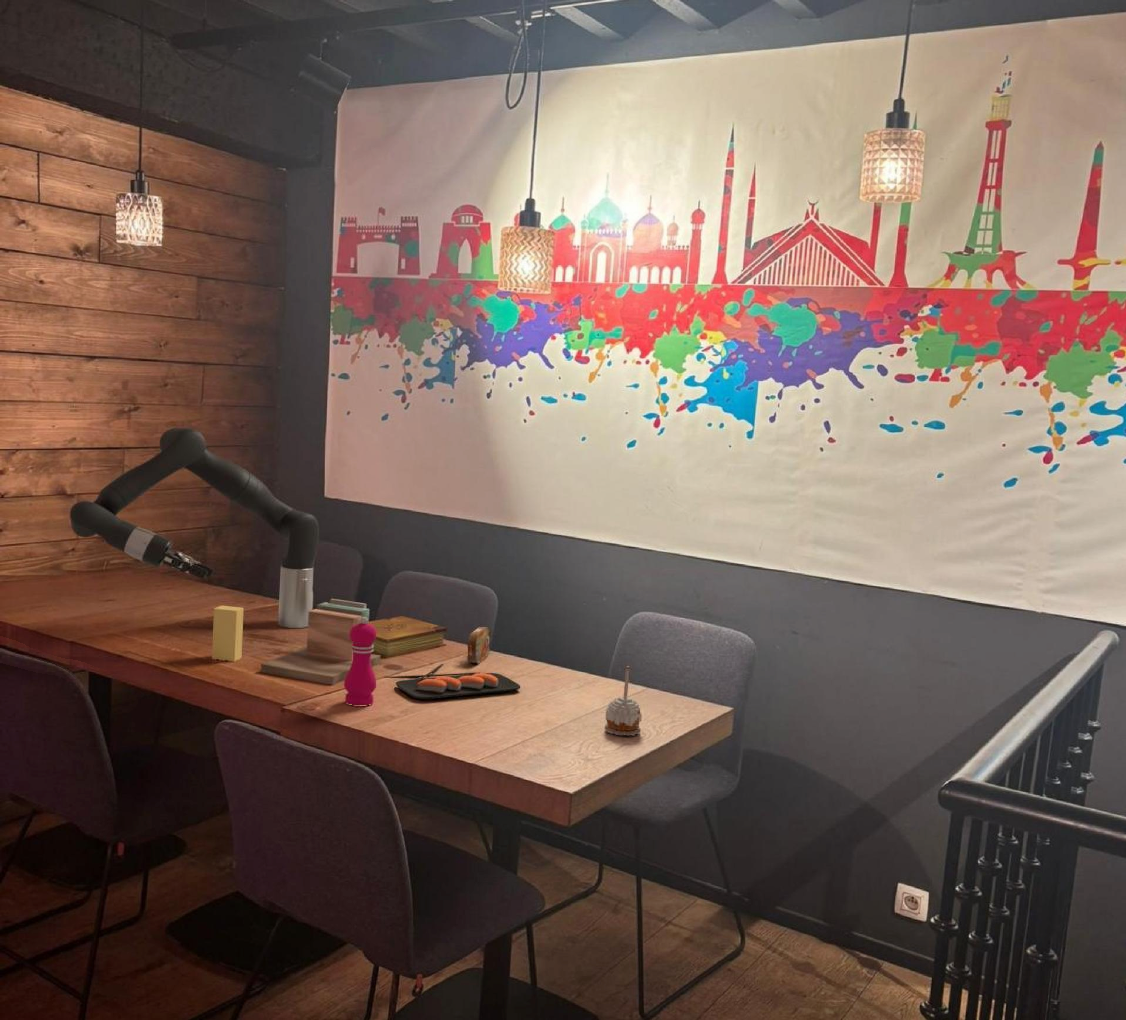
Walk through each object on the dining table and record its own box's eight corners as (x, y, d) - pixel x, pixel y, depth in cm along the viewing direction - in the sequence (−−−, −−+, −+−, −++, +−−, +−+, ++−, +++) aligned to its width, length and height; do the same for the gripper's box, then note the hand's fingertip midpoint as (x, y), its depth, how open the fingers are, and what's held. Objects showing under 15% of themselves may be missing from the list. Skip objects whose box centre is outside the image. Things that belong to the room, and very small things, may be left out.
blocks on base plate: (312, 651, 288) (315, 596, 286) (380, 662, 282) (383, 606, 280) (260, 672, 265) (263, 612, 263) (332, 684, 259) (336, 623, 257)
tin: (475, 667, 285) (477, 635, 284) (464, 665, 286) (466, 634, 285) (490, 654, 300) (493, 624, 299) (479, 652, 300) (482, 623, 299)
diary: (398, 634, 316) (400, 615, 316) (445, 647, 305) (447, 627, 305) (338, 645, 298) (339, 625, 297) (386, 659, 287) (387, 638, 286)
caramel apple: (646, 735, 240) (652, 669, 238) (619, 739, 235) (625, 672, 233) (625, 724, 246) (630, 660, 244) (597, 729, 241) (603, 663, 240)
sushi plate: (415, 706, 250) (416, 689, 249) (366, 671, 275) (367, 657, 274) (524, 695, 265) (525, 679, 265) (468, 663, 290) (469, 649, 290)
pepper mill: (347, 696, 251) (351, 612, 248) (378, 699, 250) (383, 614, 248) (339, 705, 243) (344, 618, 241) (371, 708, 243) (376, 621, 241)
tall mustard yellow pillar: (219, 655, 277) (221, 605, 276) (241, 657, 277) (243, 607, 275) (212, 658, 273) (214, 608, 272) (234, 661, 273) (236, 610, 271)
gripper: (148, 533, 264) (210, 561, 266) (161, 533, 278) (220, 559, 280) (134, 561, 264) (196, 589, 266) (148, 559, 278) (207, 586, 280)
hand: (209, 574), depth 273 cm, fingers open, 8 cm apart
